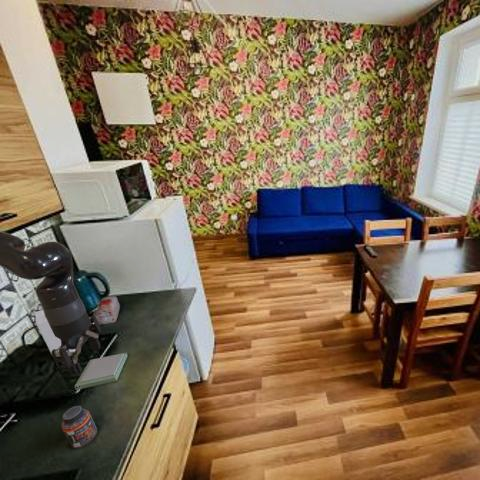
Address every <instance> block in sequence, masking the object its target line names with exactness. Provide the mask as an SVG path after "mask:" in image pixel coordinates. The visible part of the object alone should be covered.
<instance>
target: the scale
mask: <svg viewBox="0 0 480 480" xmlns="http://www.w3.org/2000/svg"><path fill="white" fill-rule="evenodd" d="M128 357H129V356H128V353H127V352H122V353H117V354H111V355H108V356H103V357H97V358H92V359H90V360H89V361H88V363H87V364H86V366H85V368H84V369H83V370H82V372H81V373H80V376H79V377H78V380H77V381H76V383H75V385H74V389H75V391H79V390H82V389H88V388H91V387H96V386H100V385H105V384H109V383H113V382H117V381H118V379H119V377H120V375H121V372H122V370H123V367H124V365H125V363H126V361H127V359H128ZM79 386H81V387H79ZM76 387H77V388H76Z"/></svg>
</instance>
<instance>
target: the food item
mask: <svg viewBox="0 0 480 480" xmlns="http://www.w3.org/2000/svg"><path fill="white" fill-rule="evenodd" d="M97 305H98V307H95V308H94V311H93V317H96V319H97V321H98V323H99V325H100V326H102V325H108V324H113V323H116V322H117V320H118V318H119V317H118V316H119V312H120V310H121V304H120V303H119V300H118V298H117V296H114V295H110V296H105V297H102V298H101V299H100V301H97Z"/></svg>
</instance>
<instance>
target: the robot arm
mask: <svg viewBox="0 0 480 480" xmlns="http://www.w3.org/2000/svg"><path fill="white" fill-rule="evenodd" d="M25 249H26V243H25V241H24V240H23V239H22V238H21V237H19V236H17V235H14V234H12V233H8V232H4V231H1V230H0V267H1V268H3V269H4V270H6V271H8V272H9V273H11V274H13V275H14V276H16V277H18V278H19V279H23V280H30V281H31V280H33V281H34V280H40V279H43V280H42V281H40V283H39V284H38V285H36V287H35V290H34V291H35V294H36V297H37V299H38V301H39V303H40V306H41V308H42V310H44V314H45V317H46V319H47V321H48V323H49V325H50V327H51V329H52V331H53V333H54V335H55V337H57V338H59V339H60V340H61V346H60V347H59V348H58V349H53V350H52V352H50V354H51V353H52V354H51V356H52V358H53V361H54V362H55V365H56V369H58V370H62V369H68V371H69V373H70V375H78V374H80V375H81V374H82V373H83V368H82V367H81V364H80V362H79V359H78V358H79V355H80V354H81V352H82V347H83V346H84V344H86V343H87V342H88V346H89V347H90V349H91V350H92V351H100V350H101V349H102V346H101V342H100V340H99V336H100V335H99V334H101V333H102V330H103V329H102V328H101V327H102V326H101V325H99V323H98V321H97V319H96V317H94V316H89V314H88V312H87V309H86V306H85V305H84V302H83V300H82V299H81V297H80V296H79V293H78V291H77V288H76V286H75V284H74V261H73V257H72V254H71V251H70V250H69V249H68V248H67V246H65V245H64V244H62V243H60V242H57V241H46V242H43V243H40V244H38V245H35V246H33V247H31V248H29V249H26V250H25ZM69 349H75V352H69ZM70 355H71V356H72V359H71V356H70Z"/></svg>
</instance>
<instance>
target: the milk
mask: <svg viewBox="0 0 480 480" xmlns="http://www.w3.org/2000/svg"><path fill="white" fill-rule="evenodd" d="M33 315H34V316H35V324H36V327H37V329H38V331H39V333H40V334H41V336H42V338H43V340H44V342H45V344H46V346H47V348H48V351H49V352H50V355H52V353H51V352H52V350H53V349H58V348H59V347H60V346H61V340H60V339H59V338H57V337H55V335H54V333H53V331H52V329H51V327H50V325H49V323H48V321H47V319H46V317H45V314H44V310H43V309H41V310H39V311H35V312H34V313H33ZM69 352H75V349H69ZM71 356H72V355H70V357H71Z"/></svg>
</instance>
